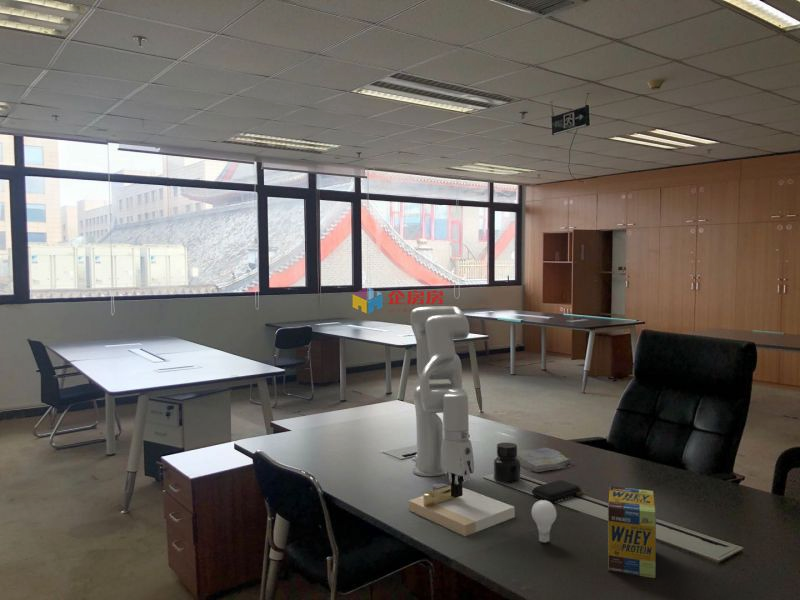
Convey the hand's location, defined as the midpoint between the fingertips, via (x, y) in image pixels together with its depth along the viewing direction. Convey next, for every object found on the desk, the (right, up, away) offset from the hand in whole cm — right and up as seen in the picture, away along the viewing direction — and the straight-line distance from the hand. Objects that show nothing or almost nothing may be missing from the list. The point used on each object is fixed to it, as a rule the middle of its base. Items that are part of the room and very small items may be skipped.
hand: (456, 496), depth 177 cm
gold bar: (-5, -2, +1) cm, 5 cm away
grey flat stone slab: (+36, -3, +46) cm, 59 cm away
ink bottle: (+20, -4, +28) cm, 35 cm away
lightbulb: (+21, -6, -21) cm, 30 cm away
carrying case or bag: (+33, -5, +13) cm, 36 cm away
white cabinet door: (0, -5, -1) cm, 5 cm away
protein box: (+40, -6, -32) cm, 51 cm away
